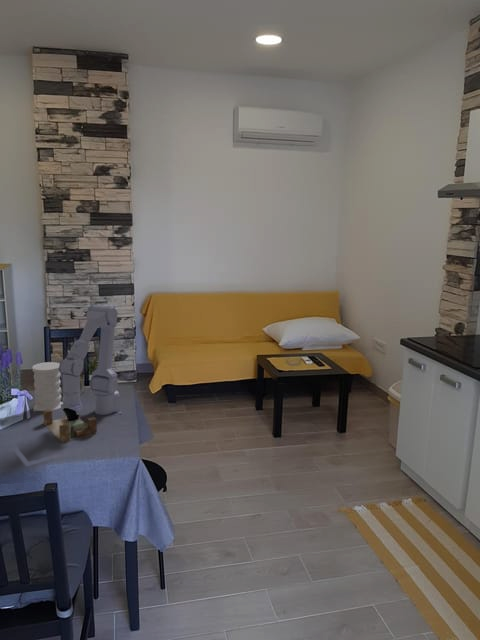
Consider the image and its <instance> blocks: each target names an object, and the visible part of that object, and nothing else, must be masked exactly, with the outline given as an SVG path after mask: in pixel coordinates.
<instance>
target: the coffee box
mask: <svg viewBox="0 0 480 640" xmlns="http://www.w3.org/2000/svg"><path fill="white" fill-rule="evenodd" d="M84 377H85V376H84V370H83V371H82V372H81V374H80V395H82V394H83V393H85V378H84ZM60 378H61V377H60ZM60 381H61V397H62V398H63V397H64V396H63V379H62V378H61V379H60Z"/></svg>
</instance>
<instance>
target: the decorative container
mask: <svg viewBox="0 0 480 640" xmlns="http://www.w3.org/2000/svg"><path fill="white" fill-rule="evenodd" d="M59 365H60V363H59V362H55V361H47V362H46V361H45V362H39V363H36V364H34V365H32V366H31V370H32V372H33V373H34V374H33V380H34V382H33V386H34V392H33V393H34V395H35V397H34V402H35V404H34V405H33V407H32V408H33V409H32V410H33V412H43V410H47V409H50V410H51V411H52V412H53V411H55V410H56V411H57V410H59V409H61V408H62V407H61V404H63V402H62V398H63V397H62V394H61V393H62V386H61V385H62V382H61V379H60V378H61V373H60V372H59V369H58V368H59Z"/></svg>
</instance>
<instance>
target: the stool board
mask: <svg viewBox="0 0 480 640" xmlns="http://www.w3.org/2000/svg"><path fill="white" fill-rule="evenodd" d="M42 412H43V414H42V415H43V423H42V424H43V425H44V426H45V427H46V428H47V429H48V430H49V431H50V432H51V433H52V434H53V435H54V436H55V438H57V439H58V440H59V442H61V443H65V442H69V441H73V440H77V439H81V438H85V437H88V436H89V437H90V436H92V435H97V434H98V431H97V432H95V433H91V434H87V435H83V436H79V437H77V436H76V435H75V426H71V433H70V432H69V423H68V419H67V417H64V418H63V417H62V418H58V419H55V420H53V410H52V411H51V410H50V409H47V410H43V411H42ZM78 419H80V420H81V421H82V422H84V428H87V427H88V422H87V423H86V422H85V421H84V420H83V418H81V417H80V416H79V418H78Z"/></svg>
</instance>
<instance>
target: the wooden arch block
mask: <svg viewBox="0 0 480 640" xmlns="http://www.w3.org/2000/svg"><path fill="white" fill-rule="evenodd" d="M86 419H87V420H86V421H87V424H88V427H87V428H83V429H79V430H75V435H76V436H77V437H79V436H83V435H87V434H91V433H95V432H97V433H98V426H97V424H98V423H97V420H98V419H97V418H96V417H95V416H91V417H87V418H86Z"/></svg>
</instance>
